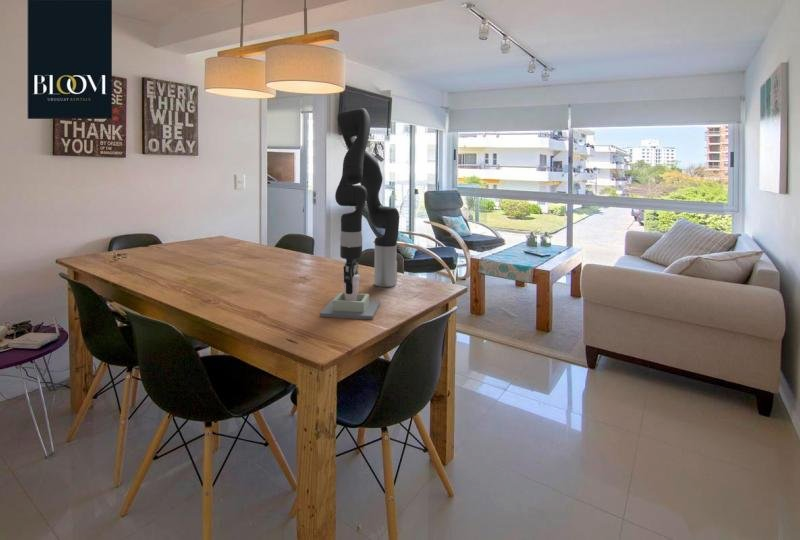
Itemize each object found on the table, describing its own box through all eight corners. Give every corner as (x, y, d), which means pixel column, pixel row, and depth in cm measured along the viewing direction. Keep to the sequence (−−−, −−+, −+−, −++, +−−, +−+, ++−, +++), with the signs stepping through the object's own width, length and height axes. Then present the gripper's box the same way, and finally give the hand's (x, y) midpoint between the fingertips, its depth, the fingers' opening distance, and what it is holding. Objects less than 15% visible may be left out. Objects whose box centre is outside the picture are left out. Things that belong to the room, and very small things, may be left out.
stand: (332, 301, 181) (332, 289, 180) (380, 304, 179) (380, 291, 178) (319, 316, 163) (319, 303, 162) (372, 319, 162) (372, 306, 160)
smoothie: (360, 299, 174) (361, 261, 171) (359, 304, 168) (360, 265, 164) (342, 299, 174) (342, 261, 171) (341, 304, 167) (341, 264, 164)
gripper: (345, 240, 173) (345, 285, 177) (335, 247, 159) (335, 296, 163) (365, 241, 173) (365, 286, 176) (358, 248, 159) (357, 297, 162)
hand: (351, 291), depth 170 cm, fingers closed on smoothie, 6 cm apart
